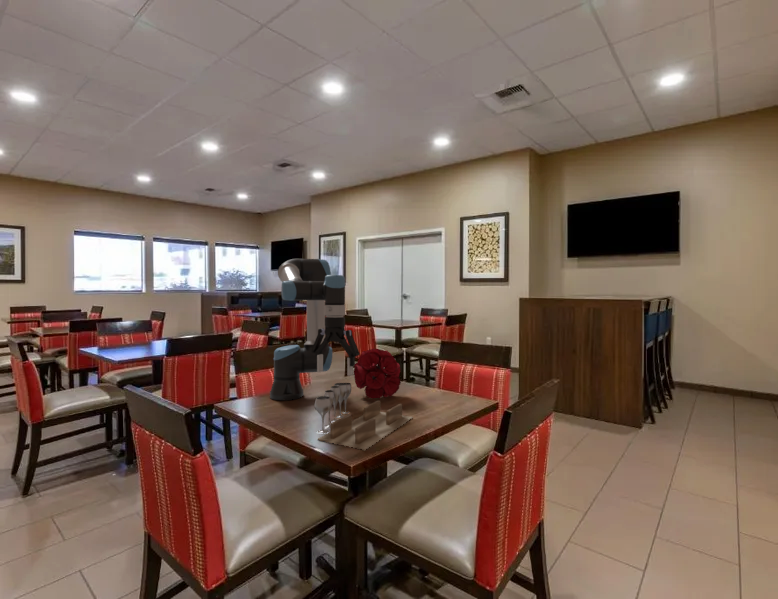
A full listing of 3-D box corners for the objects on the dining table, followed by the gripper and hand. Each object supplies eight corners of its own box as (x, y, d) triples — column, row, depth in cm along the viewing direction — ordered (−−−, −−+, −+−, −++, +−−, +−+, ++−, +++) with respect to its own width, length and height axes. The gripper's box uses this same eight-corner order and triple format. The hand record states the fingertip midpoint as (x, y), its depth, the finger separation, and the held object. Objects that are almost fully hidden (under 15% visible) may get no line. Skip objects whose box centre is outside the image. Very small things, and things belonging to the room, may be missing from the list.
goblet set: (340, 411, 166) (340, 378, 166) (354, 412, 165) (354, 379, 165) (311, 434, 139) (311, 395, 139) (327, 435, 138) (327, 397, 138)
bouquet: (352, 405, 198) (350, 387, 172) (357, 359, 210) (356, 336, 183) (396, 408, 199) (401, 391, 172) (398, 362, 210) (403, 340, 184)
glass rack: (317, 440, 133) (317, 423, 133) (372, 411, 165) (372, 398, 165) (364, 450, 125) (365, 432, 125) (412, 418, 157) (412, 404, 157)
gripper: (301, 316, 154) (301, 372, 154) (358, 317, 142) (358, 378, 142) (314, 315, 160) (314, 368, 161) (368, 316, 149) (368, 374, 149)
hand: (334, 373), depth 152 cm, fingers open, 13 cm apart
